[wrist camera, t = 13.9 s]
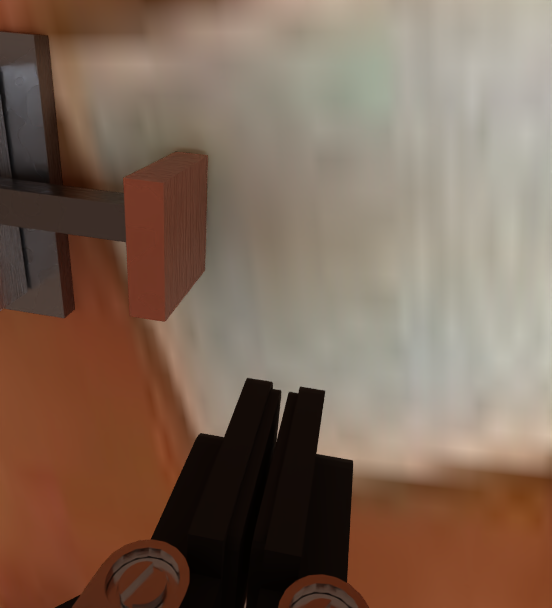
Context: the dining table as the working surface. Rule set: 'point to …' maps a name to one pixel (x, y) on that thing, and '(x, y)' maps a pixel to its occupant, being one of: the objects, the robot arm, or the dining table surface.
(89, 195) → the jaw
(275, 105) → the dining table surface
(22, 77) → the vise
